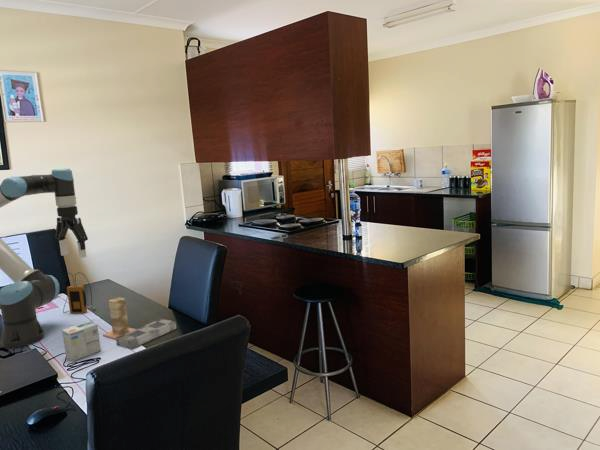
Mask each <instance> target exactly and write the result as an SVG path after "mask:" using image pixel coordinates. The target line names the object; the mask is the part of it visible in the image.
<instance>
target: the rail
mask: <svg viewBox="0 0 600 450" xmlns="http://www.w3.org/2000/svg"><path fill="white" fill-rule="evenodd" d="M134 329H135V330H133V331H130V332H128V333H125V334H123V335H121V336H118V337H116V340H115V341H116V345H117V346H120V347H123V348H127V349H131V350H132V349H135V348H137V347H140V346H142V345H143V344H146V343H149V342H150V341H153V340H155V339H157V338H160V337H161V336H163V335H165V334H168V333H171V332H173V331H175V330H176V329H177V322H176V321H173V320H169V319H164V318H159V319H157V320H155V321H152V322H150V323H147V324H145V325H143V326H141V327H137V328H134Z"/></svg>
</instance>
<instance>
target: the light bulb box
mask: <svg viewBox="0 0 600 450" xmlns="http://www.w3.org/2000/svg"><path fill="white" fill-rule="evenodd" d="M61 333H62V338H63V345H64V352H65V356H66V357H65V358H67V359H68V360H71V361H72V362H74V361H77V360H80V359H83V358H84V357H85V358H86V357H88V356H90V355H92V354H96V353H98V352H100V351H101V350H102V349H101V348H102V347H101V341H100V334H99V326H98V323H95V322H94V321H90V320H88V321H86V322H82V323H80V324H79V323H78V324H76V325H74V326H70V327H67V328H63V329H61Z"/></svg>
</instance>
